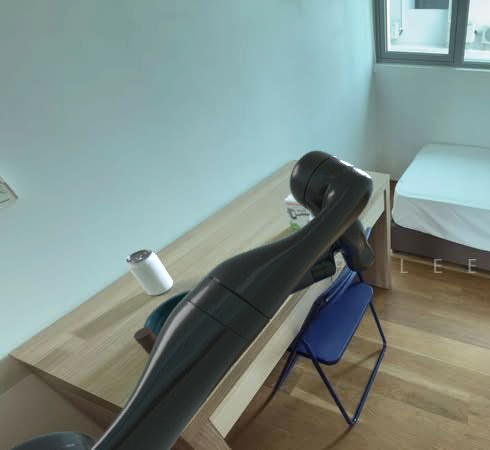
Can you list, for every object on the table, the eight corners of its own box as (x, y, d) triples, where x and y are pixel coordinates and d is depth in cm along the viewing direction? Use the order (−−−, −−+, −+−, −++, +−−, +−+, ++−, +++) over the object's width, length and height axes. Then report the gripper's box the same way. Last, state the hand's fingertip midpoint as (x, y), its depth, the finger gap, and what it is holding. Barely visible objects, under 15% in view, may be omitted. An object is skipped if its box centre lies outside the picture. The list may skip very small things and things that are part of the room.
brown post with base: (183, 387, 64) (147, 344, 55) (158, 388, 64) (118, 346, 55) (196, 364, 68) (164, 320, 60) (173, 365, 68) (137, 322, 60)
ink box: (290, 228, 110) (282, 200, 103) (297, 221, 114) (289, 193, 107) (312, 231, 108) (305, 202, 102) (318, 223, 112) (312, 194, 106)
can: (142, 293, 86) (118, 261, 79) (162, 278, 91) (141, 246, 84) (159, 298, 85) (136, 266, 78) (179, 282, 90) (159, 250, 83)
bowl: (207, 353, 70) (198, 339, 67) (139, 356, 70) (127, 343, 67) (235, 300, 83) (228, 287, 80) (177, 303, 83) (168, 290, 80)
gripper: (277, 247, 72) (199, 275, 65) (294, 284, 62) (204, 322, 55) (285, 271, 76) (213, 299, 70) (302, 309, 66) (220, 346, 60)
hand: (209, 309), depth 62 cm, fingers open, 8 cm apart
